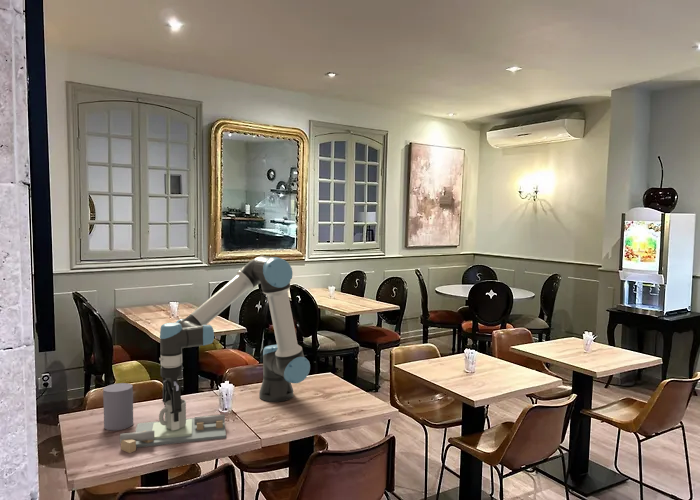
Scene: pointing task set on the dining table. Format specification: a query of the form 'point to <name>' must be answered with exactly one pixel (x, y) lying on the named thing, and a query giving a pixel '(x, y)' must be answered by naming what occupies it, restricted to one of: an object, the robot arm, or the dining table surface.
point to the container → (118, 406)
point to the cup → (168, 415)
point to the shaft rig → (174, 433)
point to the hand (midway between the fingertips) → (172, 425)
